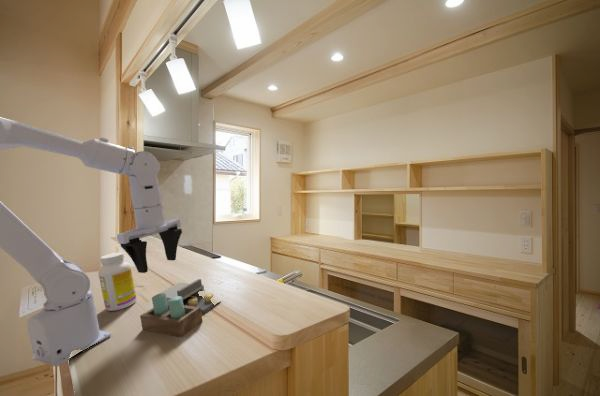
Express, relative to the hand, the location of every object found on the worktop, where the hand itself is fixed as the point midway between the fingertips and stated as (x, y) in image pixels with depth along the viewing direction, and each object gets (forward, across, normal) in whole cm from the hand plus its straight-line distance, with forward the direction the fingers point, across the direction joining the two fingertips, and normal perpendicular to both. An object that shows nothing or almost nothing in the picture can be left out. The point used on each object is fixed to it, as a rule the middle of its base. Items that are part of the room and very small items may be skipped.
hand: (158, 265), depth 65 cm
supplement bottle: (+11, -1, +14) cm, 18 cm away
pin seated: (+10, -5, -5) cm, 13 cm away
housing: (+10, +3, -2) cm, 11 cm away
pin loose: (+10, -5, -10) cm, 16 cm away
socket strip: (+10, -5, -8) cm, 14 cm away
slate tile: (+10, +3, -8) cm, 14 cm away
